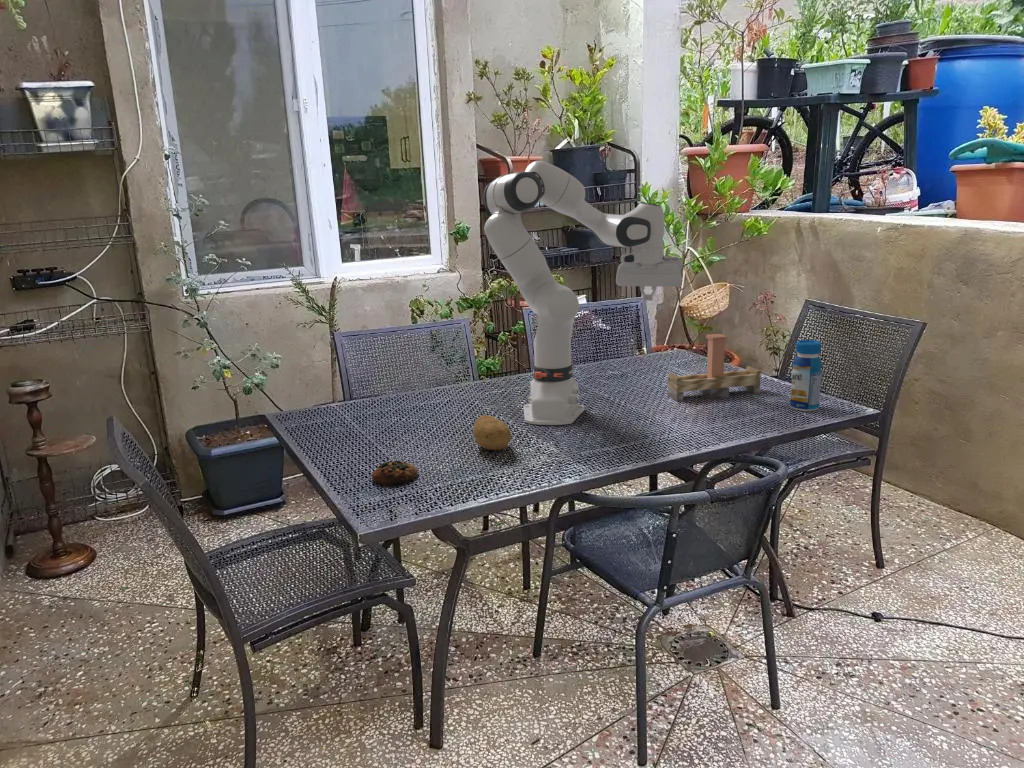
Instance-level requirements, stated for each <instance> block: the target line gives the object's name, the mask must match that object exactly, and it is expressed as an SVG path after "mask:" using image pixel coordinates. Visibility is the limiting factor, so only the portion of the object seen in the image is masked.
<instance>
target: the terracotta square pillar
mask: <svg viewBox="0 0 1024 768" xmlns="http://www.w3.org/2000/svg"><path fill="white" fill-rule="evenodd" d="M705 339H707V359H706V361H707V362H706V374H707V378H714V377H723V375H724V372H725V345H726V341H727V340H728V336H727V335H725V334H721V333H711V334H705Z"/></svg>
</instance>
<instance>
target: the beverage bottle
mask: <svg viewBox="0 0 1024 768" xmlns="http://www.w3.org/2000/svg"><path fill="white" fill-rule="evenodd" d="M821 352H822V343H821V342H820V341H819V340H816V339H801V340H797V341H796V346H795V353H796V354H797V355H796V356H795V358H794V359H793V361H792V364H791V365H792V370H791V374H790V376H791V385H790V389H791V390H790V401H789V406H790V409H792V410H796V411H798V410H799V412H814V411H817V410H819V409H820V396H821V395H820V394H821V384H822V383H821V382H822V378H823V372H822V368H823V362H822V360H821V358H820V356H819V355H820V354H821Z"/></svg>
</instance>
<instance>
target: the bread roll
mask: <svg viewBox="0 0 1024 768" xmlns="http://www.w3.org/2000/svg"><path fill="white" fill-rule="evenodd" d="M418 474H419V469H418V467H416V466H415V465H414V464H412V463H411V462H407V461H405V460H404V461H401V460H397V459H395V460H393V461H388V462H383V463H382V464H380V465H379V466H378V467H377V468H376V469H375V470H373V472H372V477H371V479H372V481H373V482H374V483H376V484H379V485H382V486H386V487H389V486H390V487H392V486H393V487H394V486H395V487H396V486H402V485H405V484H407V483H410V482H412V481H413V480H415V477H417V476H418Z"/></svg>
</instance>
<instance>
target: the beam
mask: <svg viewBox="0 0 1024 768" xmlns="http://www.w3.org/2000/svg"><path fill="white" fill-rule="evenodd" d="M761 375H762V371H761V370H759V369H757V368H755V367H753V366H751V365H746V369H743V370H742V369H741V370H733V371H724V375H723V377H714V378H707V373H699V374H687V375H686V374H685V375H677V374H675V373H673V372H668V377H667V378H668V379H667V396H669V397H670V398H671V399H672V398H673V400H674V401H675V402H683V401H684V398H683V397H684V392H691V391H692V392H693V391H694V392H695V391H698V392H699V393H700V394H702V395H704V396H705V397H707V398H709V399H710V400H716V399H726V398H730V388H736V387H737V388H738V387H742V388H743V390H745V391H747V392H749V393H751V394H752V395H758V393H761V378H762V377H761Z"/></svg>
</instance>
